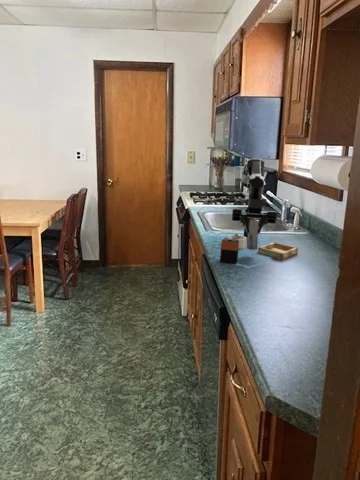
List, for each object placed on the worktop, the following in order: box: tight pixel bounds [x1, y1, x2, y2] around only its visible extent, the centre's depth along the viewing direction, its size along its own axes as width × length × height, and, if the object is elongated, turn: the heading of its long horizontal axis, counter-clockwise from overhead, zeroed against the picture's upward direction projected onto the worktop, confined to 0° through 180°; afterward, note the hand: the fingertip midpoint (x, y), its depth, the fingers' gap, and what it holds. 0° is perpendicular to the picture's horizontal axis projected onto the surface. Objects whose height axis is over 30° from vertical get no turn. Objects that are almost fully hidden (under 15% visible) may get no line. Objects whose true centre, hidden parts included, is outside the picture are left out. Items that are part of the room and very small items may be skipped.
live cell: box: [246, 218, 260, 251], centre depth 171 cm, size 4×4×13 cm
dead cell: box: [234, 232, 242, 239], centre depth 188 cm, size 3×3×6 cm
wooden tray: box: [257, 242, 299, 261], centre depth 181 cm, size 14×12×3 cm
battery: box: [219, 237, 239, 265], centre depth 166 cm, size 4×7×10 cm, turn 77°
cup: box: [227, 234, 247, 250], centre depth 188 cm, size 8×8×5 cm
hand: (253, 233), depth 170 cm, fingers closed on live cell, 4 cm apart
